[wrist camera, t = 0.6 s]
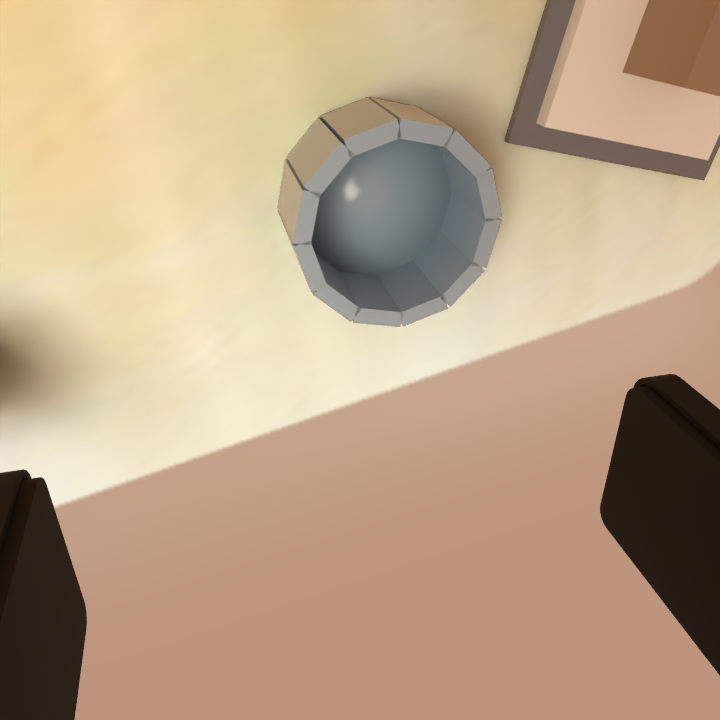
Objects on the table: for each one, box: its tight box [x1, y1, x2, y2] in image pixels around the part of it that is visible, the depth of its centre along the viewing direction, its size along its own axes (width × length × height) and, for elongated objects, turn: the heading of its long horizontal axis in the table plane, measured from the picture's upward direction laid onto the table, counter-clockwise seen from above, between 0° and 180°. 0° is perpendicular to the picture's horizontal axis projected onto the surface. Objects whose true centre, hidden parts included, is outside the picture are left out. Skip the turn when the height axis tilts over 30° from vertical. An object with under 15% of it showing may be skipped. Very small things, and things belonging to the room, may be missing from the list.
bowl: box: [278, 97, 502, 327], centre depth 41 cm, size 12×12×6 cm
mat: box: [504, 0, 720, 180], centre depth 42 cm, size 16×16×1 cm
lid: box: [536, 0, 720, 160], centre depth 39 cm, size 13×13×7 cm
